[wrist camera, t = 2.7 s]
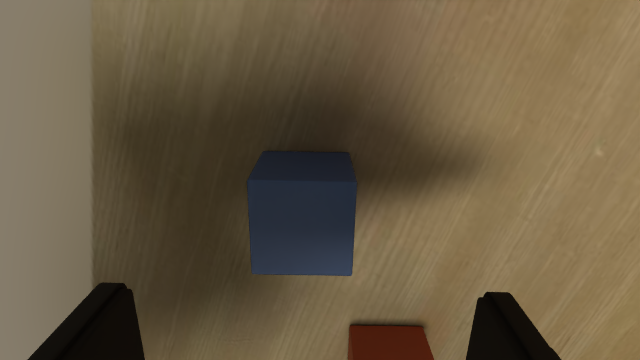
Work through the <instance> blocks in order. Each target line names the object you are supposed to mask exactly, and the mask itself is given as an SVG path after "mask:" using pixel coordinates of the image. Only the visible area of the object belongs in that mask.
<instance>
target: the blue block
mask: <svg viewBox="0 0 640 360" xmlns="http://www.w3.org/2000/svg"><path fill="white" fill-rule="evenodd" d="M247 190H248V211H249V231H250V251H251V271H252V274H274V275H335V276H351V275H352V267H353V248H354V230H355V212H356V194H357V181H356V177H355V173H354V169H353V166H352V162H351V158H350V154H349V153H347V152H292V151H263V152H262V154H261V156H260V157H259V159H258V161H257V163H256V165H255V167H254V169H253V171H252V172H251V174H250V176H249V178H248V180H247Z"/></svg>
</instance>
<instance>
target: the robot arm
mask: <svg viewBox="0 0 640 360" xmlns="http://www.w3.org/2000/svg"><path fill="white" fill-rule="evenodd" d="M28 360H145V358H144V352H143V347H142V341H141V335H140V330H139V324H138V319H137V313H136V308H135V302H134V297H133V292H132V290H131V289H127V287H126V285H125V284H124V283H104V282H103V283H100V284H98V285H97V286H96V287H95V288H94V289H93V290H92V291H91V293H90V294H89V295H88V296H87V297H86V298H85V299H84V300H83V301H82V302H81V303H80V304H79V305H78V306H77V307H76V308H75V310H74V311H73V312H72V313H71V314H70V315H69V316H68V317H67V318H66V319H65V320H64V321H63V322H62V323H61V324H60V326H59V327H58V328H57V329H56V330H55V331H54V332H53V333H52V334H51V335H50V336H49V337H48V338H47V339H46V341H45V342H44V343H43V344H42V345H41V346H40V347H39V348H38V349H37V350H36V351H35V352H34V353H33V354H32V355H31V356H30V358H29V359H28ZM466 360H561V359H560V357H559V356H558V355H557V353H556V352H555V351H554V350H553V349H552V348H551V347H549V345H548V344H547V343H546V341H545V340H544V338H543V337H542V336H541V334H540V333H539V332H538V330H537V329H536V327H535V326H534V325H533V323H532V322H531V321H530V319H529V318H528V317H527V315H526V314H525V312H524V311H523V310H522V308H521V307H520V306H519V304H518V303H517V301H516V300H515V299H514V297H513V296H512V295H511V294H510V293H508V292H486V293H485V294H484V297H480V298H478V300H477V304H476V310H475V315H474V320H473V325H472V330H471V335H470V341H469V346H468V351H467V356H466Z"/></svg>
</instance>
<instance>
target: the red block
mask: <svg viewBox="0 0 640 360" xmlns="http://www.w3.org/2000/svg"><path fill="white" fill-rule="evenodd" d="M348 360H434V358H433V355H432V352H431V350H430V347H429V344H428V341H427V338H426V336H425V333H424V330H423V327H421V326H359V325H351V326H350V329H349V347H348Z"/></svg>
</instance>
